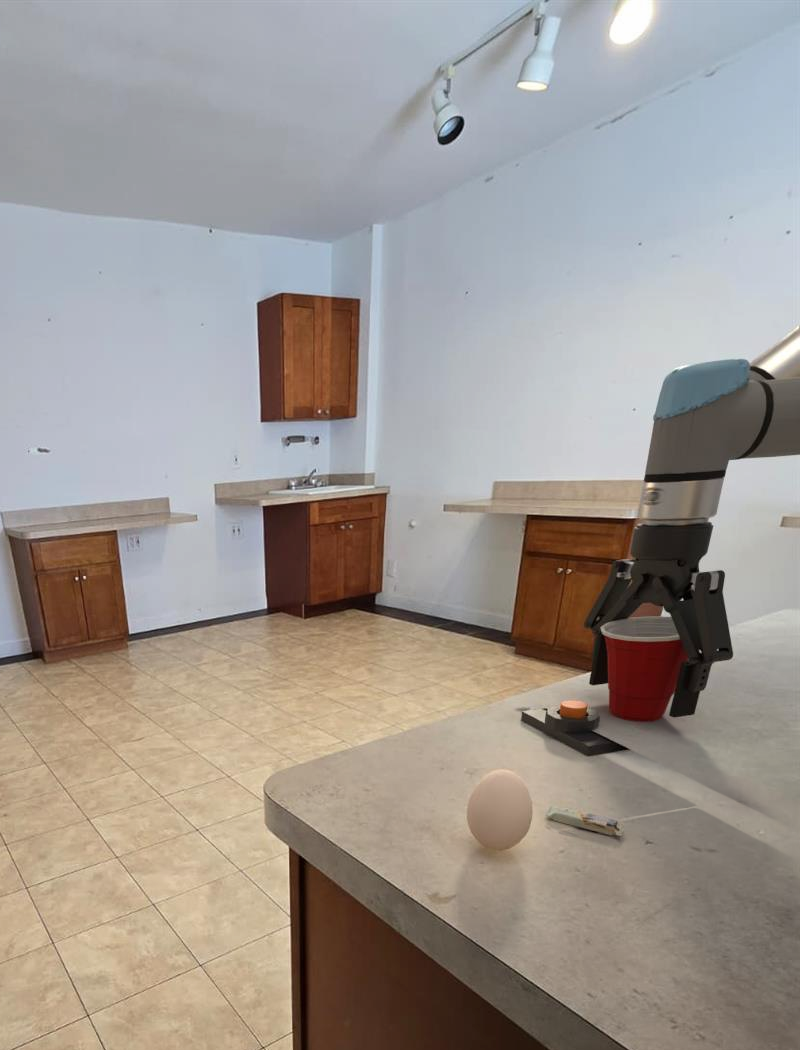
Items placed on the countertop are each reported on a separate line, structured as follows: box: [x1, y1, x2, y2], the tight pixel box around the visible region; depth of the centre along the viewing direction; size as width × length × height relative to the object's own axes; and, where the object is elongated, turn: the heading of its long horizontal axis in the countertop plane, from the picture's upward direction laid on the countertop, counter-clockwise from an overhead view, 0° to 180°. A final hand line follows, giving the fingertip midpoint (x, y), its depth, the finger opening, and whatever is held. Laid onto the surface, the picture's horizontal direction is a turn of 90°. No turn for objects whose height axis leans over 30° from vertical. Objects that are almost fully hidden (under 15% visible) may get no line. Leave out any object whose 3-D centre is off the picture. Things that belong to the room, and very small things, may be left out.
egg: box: [466, 768, 534, 852], centre depth 58 cm, size 6×6×8 cm
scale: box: [520, 705, 632, 757], centre depth 82 cm, size 18×13×3 cm
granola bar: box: [545, 806, 626, 837], centre depth 62 cm, size 7×2×1 cm, turn 49°
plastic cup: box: [600, 615, 689, 723], centre depth 80 cm, size 11×11×12 cm
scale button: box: [559, 700, 589, 718], centre depth 80 cm, size 3×3×2 cm
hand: (637, 698), depth 81 cm, fingers open, 13 cm apart
